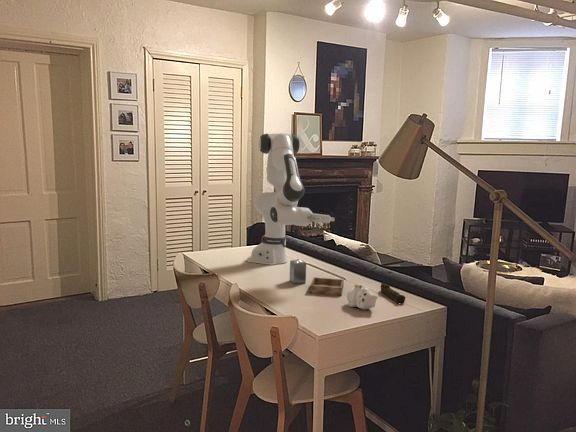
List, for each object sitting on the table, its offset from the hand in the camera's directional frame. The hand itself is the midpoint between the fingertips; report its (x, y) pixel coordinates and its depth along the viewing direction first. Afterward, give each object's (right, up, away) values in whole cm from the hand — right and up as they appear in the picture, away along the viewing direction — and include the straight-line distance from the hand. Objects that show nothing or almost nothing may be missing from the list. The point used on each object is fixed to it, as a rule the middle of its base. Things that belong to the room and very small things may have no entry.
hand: (329, 218), depth 232 cm
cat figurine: (+10, -36, -37) cm, 53 cm away
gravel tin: (-15, -30, -3) cm, 34 cm away
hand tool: (+25, -35, -22) cm, 48 cm away
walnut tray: (-2, -32, -14) cm, 35 cm away
